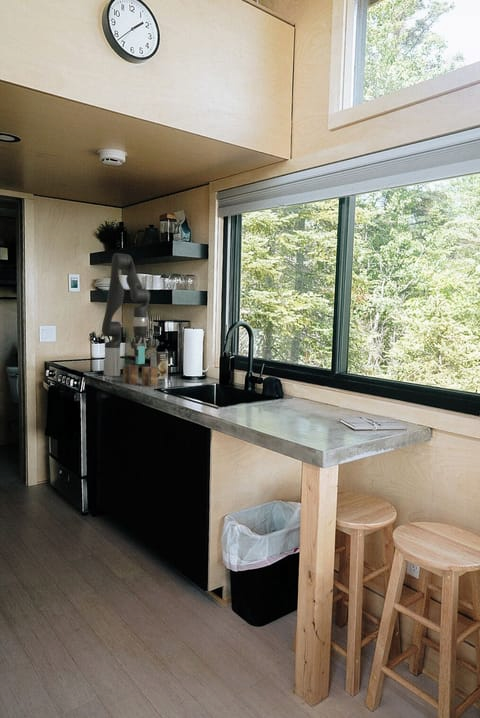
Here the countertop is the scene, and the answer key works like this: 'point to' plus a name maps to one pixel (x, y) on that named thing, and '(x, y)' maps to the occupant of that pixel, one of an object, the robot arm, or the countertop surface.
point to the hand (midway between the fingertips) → (140, 355)
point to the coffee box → (160, 363)
